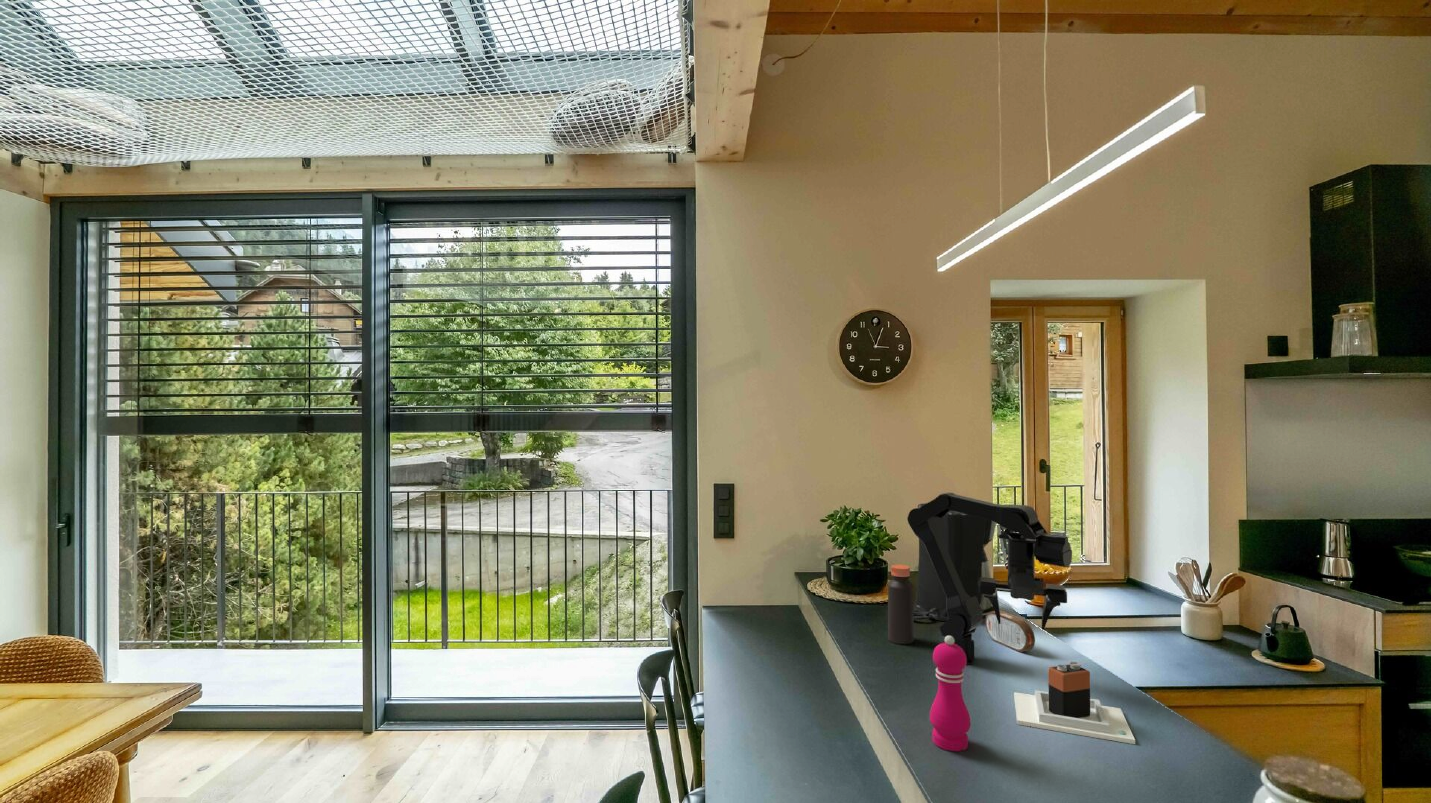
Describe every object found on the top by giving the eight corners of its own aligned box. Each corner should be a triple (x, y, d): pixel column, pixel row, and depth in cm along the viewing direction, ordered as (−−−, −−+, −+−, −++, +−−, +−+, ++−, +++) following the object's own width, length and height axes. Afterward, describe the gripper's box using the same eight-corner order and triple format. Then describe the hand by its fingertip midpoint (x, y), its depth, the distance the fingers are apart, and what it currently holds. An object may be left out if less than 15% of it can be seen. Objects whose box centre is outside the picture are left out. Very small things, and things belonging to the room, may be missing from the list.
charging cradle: (1017, 724, 128) (1017, 712, 128) (1014, 695, 141) (1014, 685, 141) (1135, 744, 120) (1135, 731, 120) (1120, 712, 133) (1120, 700, 133)
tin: (1036, 655, 165) (1035, 622, 165) (1026, 656, 164) (1026, 623, 164) (992, 636, 179) (992, 605, 179) (983, 637, 178) (983, 606, 178)
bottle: (896, 634, 180) (895, 562, 180) (918, 640, 175) (918, 566, 175) (883, 640, 175) (883, 566, 176) (905, 646, 170) (905, 571, 171)
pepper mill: (923, 734, 124) (923, 629, 124) (959, 732, 124) (959, 628, 125) (939, 753, 117) (939, 643, 117) (978, 752, 117) (977, 641, 118)
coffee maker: (1009, 610, 202) (1008, 503, 202) (963, 635, 179) (962, 514, 180) (940, 596, 218) (940, 496, 219) (890, 617, 195) (890, 506, 196)
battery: (1091, 716, 129) (1091, 666, 130) (1064, 721, 127) (1064, 670, 128) (1073, 706, 134) (1073, 658, 134) (1047, 711, 132) (1047, 662, 132)
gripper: (977, 562, 148) (977, 631, 147) (1069, 571, 140) (1069, 643, 140) (978, 553, 158) (978, 616, 158) (1064, 560, 150) (1064, 627, 150)
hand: (1020, 626), depth 151 cm, fingers open, 9 cm apart
